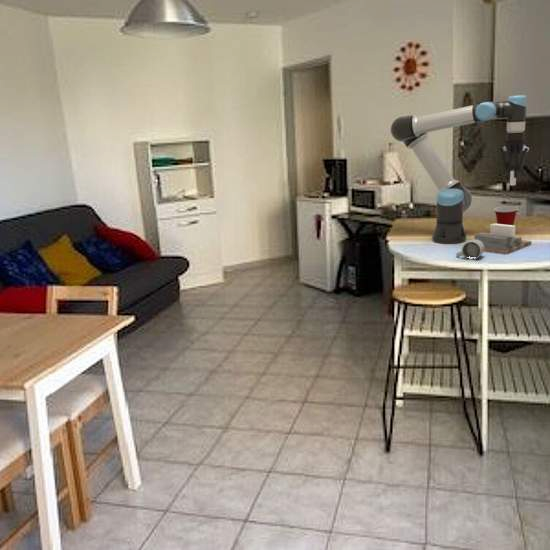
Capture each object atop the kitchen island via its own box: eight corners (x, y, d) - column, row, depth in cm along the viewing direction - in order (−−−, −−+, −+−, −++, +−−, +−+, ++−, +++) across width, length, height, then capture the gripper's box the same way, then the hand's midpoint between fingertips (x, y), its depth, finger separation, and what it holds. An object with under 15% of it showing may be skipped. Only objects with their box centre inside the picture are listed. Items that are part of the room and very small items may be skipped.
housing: (496, 240, 262) (497, 226, 260) (531, 244, 250) (532, 229, 248) (471, 249, 248) (471, 234, 246) (506, 254, 236) (507, 239, 234)
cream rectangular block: (493, 241, 253) (493, 223, 251) (514, 243, 246) (515, 225, 244) (489, 242, 251) (490, 224, 249) (511, 245, 244) (512, 226, 242)
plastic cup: (487, 232, 279) (488, 207, 276) (504, 229, 283) (506, 205, 279) (504, 235, 269) (505, 210, 266) (521, 232, 273) (523, 207, 270)
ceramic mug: (485, 255, 236) (485, 237, 234) (480, 260, 230) (480, 242, 228) (459, 254, 242) (459, 236, 240) (454, 259, 236) (454, 240, 234)
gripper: (534, 130, 250) (530, 184, 256) (505, 131, 259) (503, 183, 266) (526, 132, 245) (522, 186, 252) (497, 132, 255) (495, 185, 261)
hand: (512, 185), depth 259 cm, fingers closed
